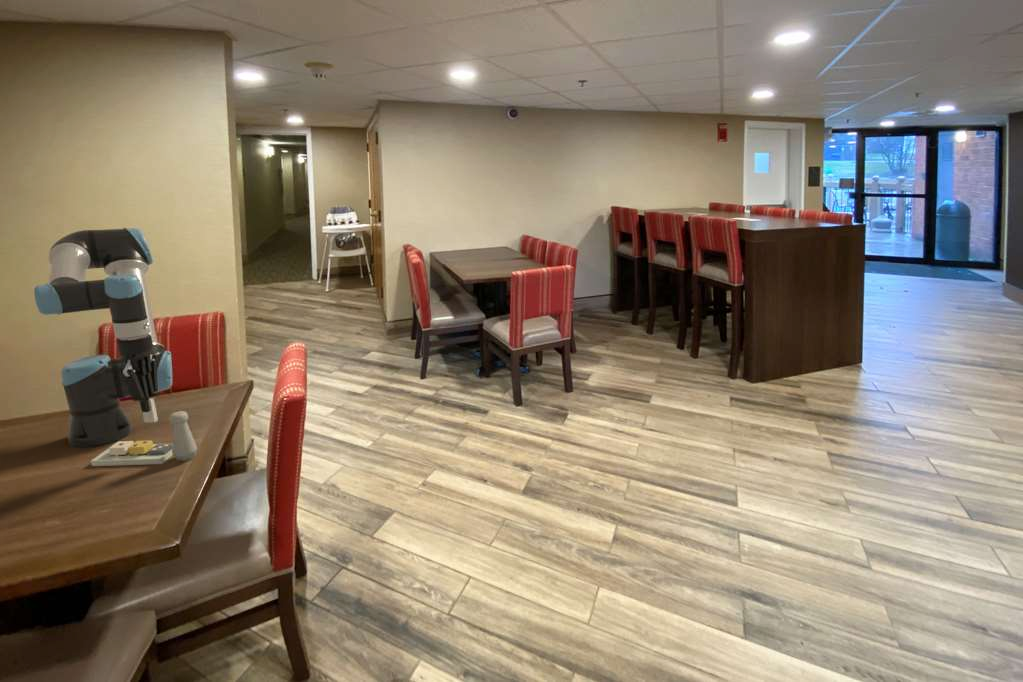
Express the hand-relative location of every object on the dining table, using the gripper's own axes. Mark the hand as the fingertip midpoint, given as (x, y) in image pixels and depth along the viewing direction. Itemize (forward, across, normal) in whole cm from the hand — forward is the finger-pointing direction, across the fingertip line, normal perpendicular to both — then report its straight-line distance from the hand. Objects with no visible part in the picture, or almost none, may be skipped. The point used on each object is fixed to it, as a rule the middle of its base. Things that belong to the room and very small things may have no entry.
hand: (151, 421), depth 149 cm
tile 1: (+8, 0, +9) cm, 12 cm away
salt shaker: (+10, -2, -8) cm, 13 cm away
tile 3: (+10, -1, -1) cm, 10 cm away
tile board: (+10, 0, +5) cm, 11 cm away
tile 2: (+8, 0, +4) cm, 9 cm away
